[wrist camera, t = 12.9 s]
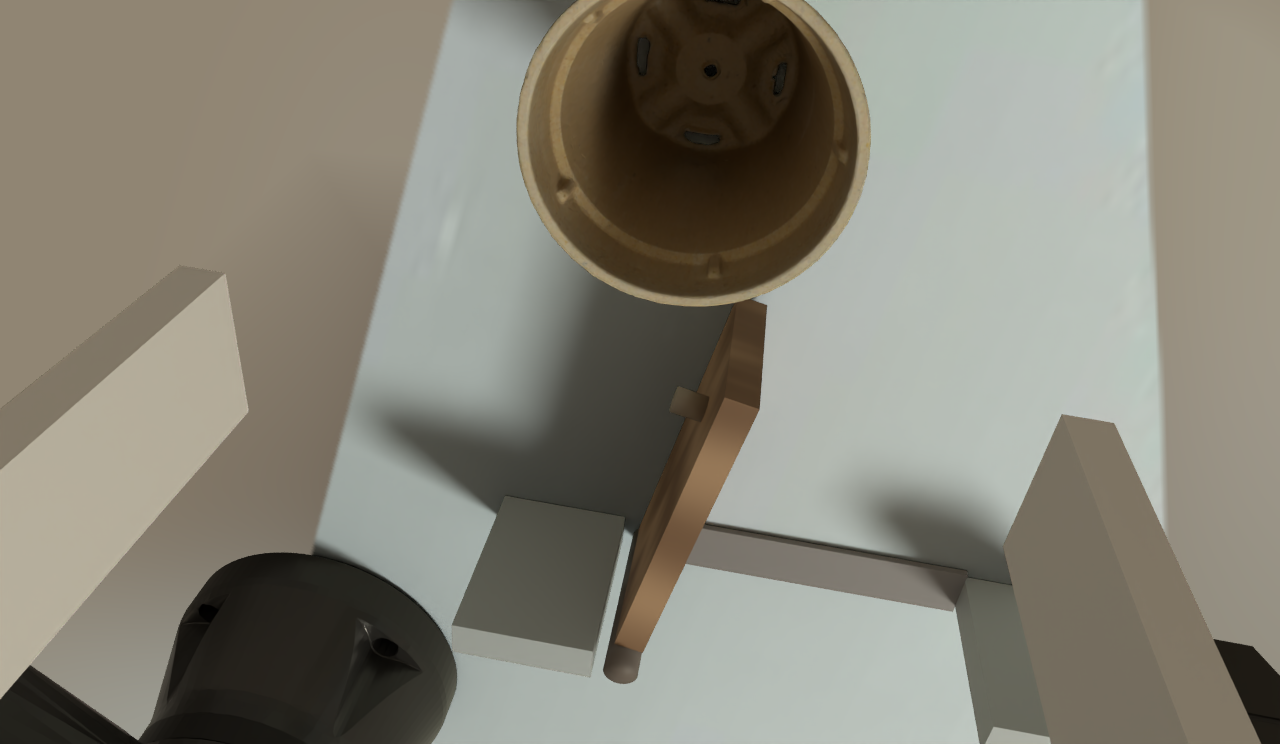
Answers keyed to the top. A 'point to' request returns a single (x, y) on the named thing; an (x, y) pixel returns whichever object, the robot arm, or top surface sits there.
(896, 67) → the top surface
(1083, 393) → the top surface
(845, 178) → the flower pot
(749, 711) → the top surface
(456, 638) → the wall
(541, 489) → the top surface
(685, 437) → the door
